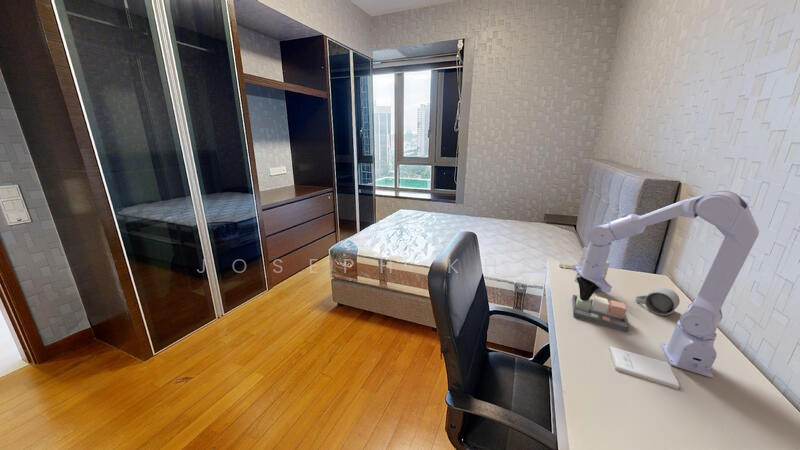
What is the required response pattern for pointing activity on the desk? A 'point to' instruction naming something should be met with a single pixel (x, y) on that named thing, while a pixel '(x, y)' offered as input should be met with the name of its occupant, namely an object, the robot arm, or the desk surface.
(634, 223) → the robot arm
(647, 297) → the ceramic mug
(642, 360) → the external hard drive
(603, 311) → the key cream
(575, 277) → the ink box
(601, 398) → the desk surface
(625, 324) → the keypad
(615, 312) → the key terracotta
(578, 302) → the key sage
